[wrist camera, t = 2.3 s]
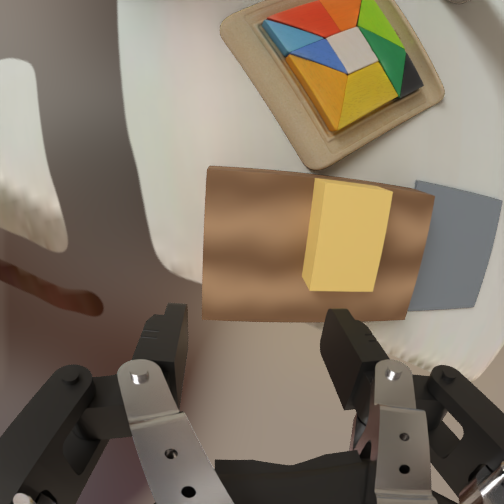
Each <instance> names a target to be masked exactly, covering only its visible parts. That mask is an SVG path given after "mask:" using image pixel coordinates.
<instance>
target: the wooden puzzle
mask: <svg viewBox="0 0 504 504" xmlns="http://www.w3.org/2000/svg"><path fill="white" fill-rule="evenodd" d="M220 35H221V37H222V39H223V40H224V42H225V43H226V45H227V46H228V48H229V49H230V50H231V52H232V53H233V55H234V56H235V58H236V59H237V60H238V62H239V63H240V65H241V66H242V68H243V69H244V71H245V72H246V74H247V75H248V77H249V78H250V80H251V81H252V83H253V84H254V86H255V87H256V89H257V90H258V92H259V93H260V95H261V96H262V98H263V99H264V101H265V102H266V104H267V106H268V107H269V109H270V110H271V112H272V113H273V115H274V117H275V118H276V120H277V121H278V123H279V125H280V126H281V128H282V129H283V131H284V133H285V134H286V136H287V138H288V139H289V141H290V142H291V144H292V146H293V147H294V149H295V151H296V152H297V154H298V156H299V157H300V159H301V161H302V162H303V164H304V165H305V166H306V167H308V168H310V169H312V170H321V169H324V168H327V167H329V166H331V165H333V164H334V163H336V162H337V161H339V160H341V159H342V158H344V157H346V156H347V155H349V154H351V153H352V152H354V151H355V150H357V149H359V148H360V147H362V146H364V145H365V144H367V143H369V142H370V141H372V140H374V139H375V138H377V137H379V136H381V135H382V134H384V133H386V132H387V131H389V130H391V129H392V128H394V127H396V126H398V125H399V124H401V123H403V122H404V121H406V120H408V119H410V118H411V117H413V116H415V115H417V114H419V113H420V112H422V111H424V110H426V109H427V108H429V107H431V106H433V105H435V104H437V103H438V102H440V101H441V100H442V99H443V97H444V94H445V90H444V87H443V85H442V82H441V80H440V78H439V76H438V74H437V72H436V70H435V68H434V66H433V64H432V62H431V60H430V58H429V56H428V54H427V53H426V51H425V49H424V47H423V45H422V44H421V42H420V40H419V38H418V37H417V35H416V33H415V32H414V30H413V28H412V27H411V25H410V23H409V22H408V20H407V19H406V17H405V16H404V14H403V13H402V11H401V10H400V8H399V7H398V5H397V4H396V2H395V1H394V0H265V1H263V2H260V3H257V4H255V5H252V6H250V7H247V8H245V9H243V10H240V11H238V12H236V13H234V14H232V15H230V16H228V17H227V18H226V19H225V20H224V21H223V22H222V23H221V25H220Z"/></svg>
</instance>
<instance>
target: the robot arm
mask: <svg viewBox="0 0 504 504" xmlns="http://www.w3.org/2000/svg"><path fill="white" fill-rule="evenodd" d="M447 1H450V2H452V3H456V4H462V3H465V2H467V1H470V0H447ZM187 311H188V309H187V304H177V303H168V305H167V308H166V311H165V314H164V315H156V314H155V315H153V316H152V317H151V318H150V319H148V320H147V321H146V324H145V326H144V329H143V331H142V334H141V338H140V339H139V342H138V345H137V347H136V350H135V352H134V355H133V358H132V360H131V361H129V362H126V363H125V364H123V365H122V366H121V367H120V368H119V370H118V373H117V374H115V375H111V376H103V377H92V374H91V373H90V371H89V370H88V369H87V368H85V367H83V366H80V365H67V366H64V367H61V368H59V369H58V370H57V371H55V372H54V373H53V375H52V376H51V377H50V378H49V379H48V380H47V382H46V383H45V384H44V385H43V386H42V387H41V388H40V390H39V391H38V392H37V393H36V394H35V395H34V397H33V398H32V399H31V400H30V401H29V403H28V404H27V405H26V406H25V407H24V409H23V410H22V411H21V412H20V413H19V415H18V416H17V417H16V418H15V420H14V421H13V422H12V423H11V424H10V426H9V427H8V428H7V429H6V431H5V432H4V433H3V435H2V436H1V437H0V504H76V502H77V500H78V498H79V496H80V494H81V492H82V490H83V488H84V487H85V485H86V483H87V481H88V479H89V477H90V475H91V473H92V471H93V469H94V468H95V466H96V464H97V462H98V460H99V458H100V456H101V454H102V453H103V451H104V449H105V447H106V445H107V444H108V442H109V440H110V439H112V438H122V437H131V436H133V439H134V443H135V446H136V449H137V452H138V455H139V458H140V461H141V464H142V467H143V470H144V473H145V476H146V478H147V481H148V484H149V487H150V489H151V492H152V494H153V497H154V499H155V503H154V504H458V503H456V502H454V501H452V500H450V499H448V498H446V497H444V496H442V495H440V494H438V493H436V492H435V491H433V490H431V469H430V468H431V466H430V462H431V463H432V465H433V466H434V467H435V469H436V470H437V471H438V472H439V474H440V475H441V476H442V477H443V479H444V480H445V481H446V482H447V484H448V485H449V486H450V488H451V489H452V490H453V491H454V493H455V494H456V495H457V497H458V498H459V504H504V413H503V412H502V411H501V410H500V409H499V408H497V406H495V405H494V404H493V403H492V402H491V401H490V400H489V399H488V398H487V397H486V396H485V395H484V394H483V393H482V392H481V391H479V390H478V389H477V388H476V387H475V386H474V385H473V384H472V383H471V382H470V381H469V380H468V379H467V378H465V377H464V376H463V375H462V374H461V373H460V372H459V371H458V370H456V369H455V368H453V367H450V366H446V365H439V366H436V367H434V368H433V370H432V372H431V374H430V376H421V375H412V372H411V370H410V369H409V367H408V366H406V365H405V364H403V363H402V362H399V361H396V360H390V359H389V357H388V356H387V354H386V353H385V351H384V350H383V348H382V347H381V345H380V344H379V343H378V341H377V340H376V338H375V337H374V335H372V332H371V331H370V329H369V328H368V327H367V326H366V325H365V324H363V323H362V322H361V321H359V320H355V319H354V318H353V316H352V315H351V313H350V312H349V310H348V309H346V308H330V309H328V311H327V314H326V318H325V323H324V327H323V331H322V336H321V340H320V352H321V355H322V358H323V360H324V362H325V365H326V367H327V370H328V372H329V375H330V377H331V379H332V382H333V384H334V387H335V389H336V392H337V394H338V396H339V399H340V401H341V404H342V406H343V409H344V410H351V409H355V410H356V412H357V413H356V415H355V417H354V420H353V428H352V435H351V441H350V448H349V451H347V452H340V453H333V454H326V455H322V456H320V457H317V458H314V459H311V460H308V461H305V462H302V463H299V464H295V465H281V464H274V463H268V462H261V461H255V460H215V469H214V468H213V467H212V465H211V463H210V461H209V459H208V457H207V456H206V454H205V452H204V450H203V448H202V446H201V444H200V443H199V440H198V439H197V436H196V434H195V433H194V430H193V428H192V427H191V424H190V422H189V420H188V418H187V416H186V415H185V413H184V412H183V411H182V412H179V408H180V402H181V394H182V386H183V380H184V373H185V366H186V359H187V352H188V312H187ZM447 412H449V413H450V414H451V415H452V416H453V417H454V418H455V419H456V420H457V421H458V422H459V423H460V424H461V426H462V427H463V430H464V435H463V438H462V439H461V440H459V439H458V438H457V437H456V435H455V434H454V433H453V432H452V431H451V430H450V429H449V428H448V427H447V425H446V424H445V423H444V422H443V421H442V420H443V418H444V416H445V415H446V413H447Z"/></svg>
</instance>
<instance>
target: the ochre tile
mask: <svg viewBox="0 0 504 504" xmlns="http://www.w3.org/2000/svg"><path fill="white" fill-rule="evenodd" d="M392 194H393V192H392V191H390V190H387V189H384V188H381V187H378V186H373V185H367V184H360V183H352V182H345V181H337V180H329V179H320V178H315V182H314V190H313V199H312V207H311V214H310V222H309V230H308V237H307V244H306V251H305V258H304V265H303V272H302V278H303V279H304V281H305V283H306V285H307V287H308V289H309V291H346V292H373V289H374V284H375V280H376V276H377V272H378V268H379V263H380V259H381V254H382V249H383V244H384V239H385V234H386V229H387V224H388V218H389V213H390V207H391V201H392Z"/></svg>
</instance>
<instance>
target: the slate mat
mask: <svg viewBox="0 0 504 504" xmlns="http://www.w3.org/2000/svg"><path fill="white" fill-rule="evenodd" d="M415 189H416V190H419V191H422V192H425V193H428V194H431V195H434V196H435V200H434V206H433V211H432V216H431V221H430V226H429V231H428V236H427V240H426V245H425V249H424V253H423V257H422V261H421V265H420V269H419V273H418V276H417V280H416V284H415V287H414V291H413V294H412V297H411V301H410V304H409V307H408V310H407V311H420V310H439V309H455V308H469V307H474V305H475V302H476V300H477V297H478V294H479V291H480V288H481V285H482V282H483V278H484V275H485V272H486V269H487V265H488V262H489V258H490V254H491V251H492V247H493V243H494V239H495V235H496V230H497V226H498V221H499V216H500V211H501V206H502V201H501V200H498V199H494V198H491V197H487V196H483V195H479V194H475V193H471V192H467V191H463V190H459V189H455V188H450V187H446V186H441V185H437V184H432V183H427V182H422V181H417V180H416V184H415Z"/></svg>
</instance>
